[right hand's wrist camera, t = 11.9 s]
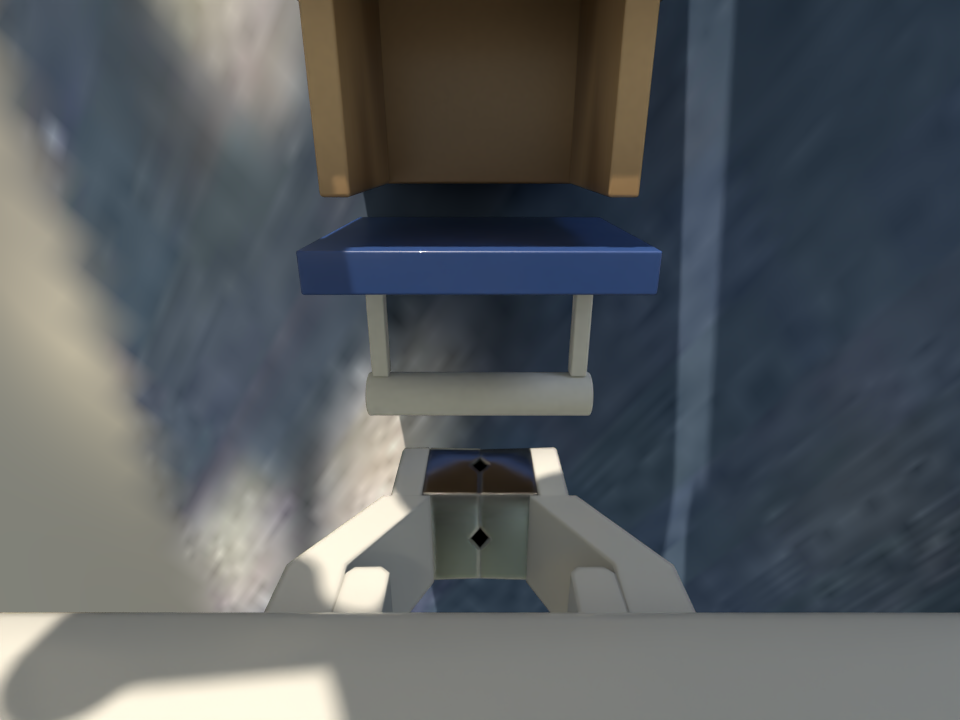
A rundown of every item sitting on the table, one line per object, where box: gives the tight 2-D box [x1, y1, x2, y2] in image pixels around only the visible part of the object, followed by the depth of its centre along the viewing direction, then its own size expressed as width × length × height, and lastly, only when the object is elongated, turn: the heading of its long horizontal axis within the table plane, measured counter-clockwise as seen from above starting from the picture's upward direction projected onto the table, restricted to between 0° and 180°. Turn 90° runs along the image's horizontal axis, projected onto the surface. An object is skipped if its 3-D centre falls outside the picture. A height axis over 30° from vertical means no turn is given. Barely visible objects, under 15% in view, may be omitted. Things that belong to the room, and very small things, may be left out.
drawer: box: [296, 0, 662, 416], centre depth 15 cm, size 24×10×8 cm, turn 0°
